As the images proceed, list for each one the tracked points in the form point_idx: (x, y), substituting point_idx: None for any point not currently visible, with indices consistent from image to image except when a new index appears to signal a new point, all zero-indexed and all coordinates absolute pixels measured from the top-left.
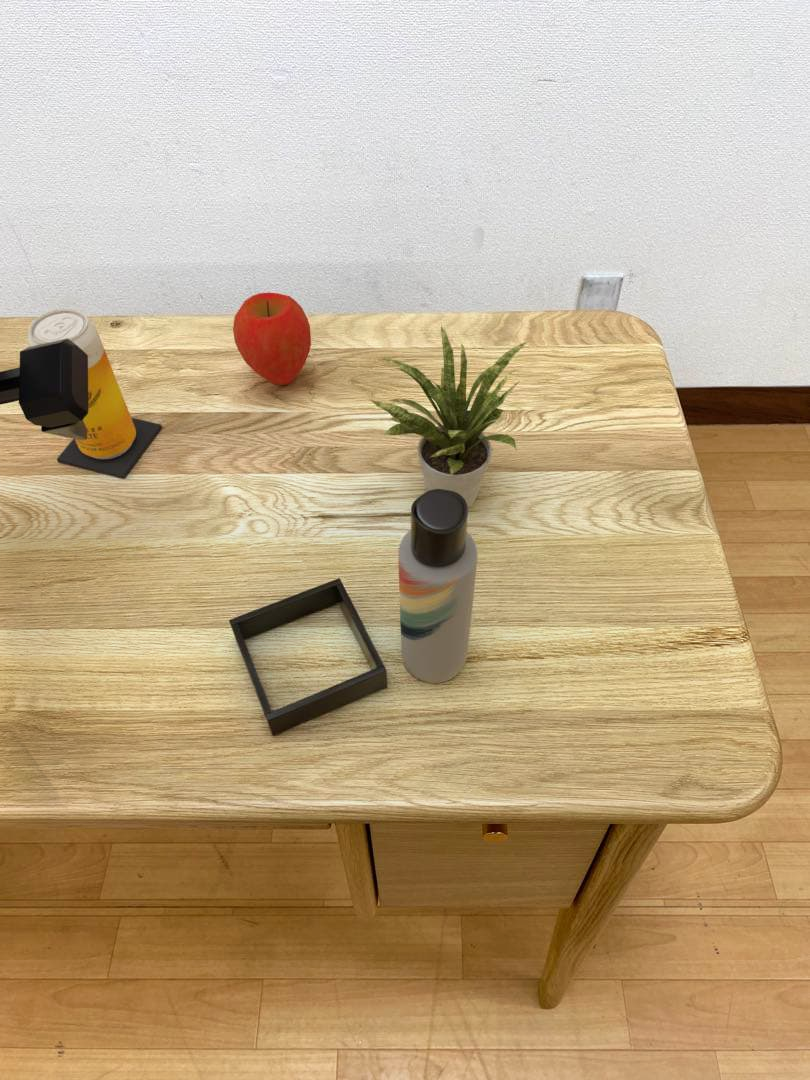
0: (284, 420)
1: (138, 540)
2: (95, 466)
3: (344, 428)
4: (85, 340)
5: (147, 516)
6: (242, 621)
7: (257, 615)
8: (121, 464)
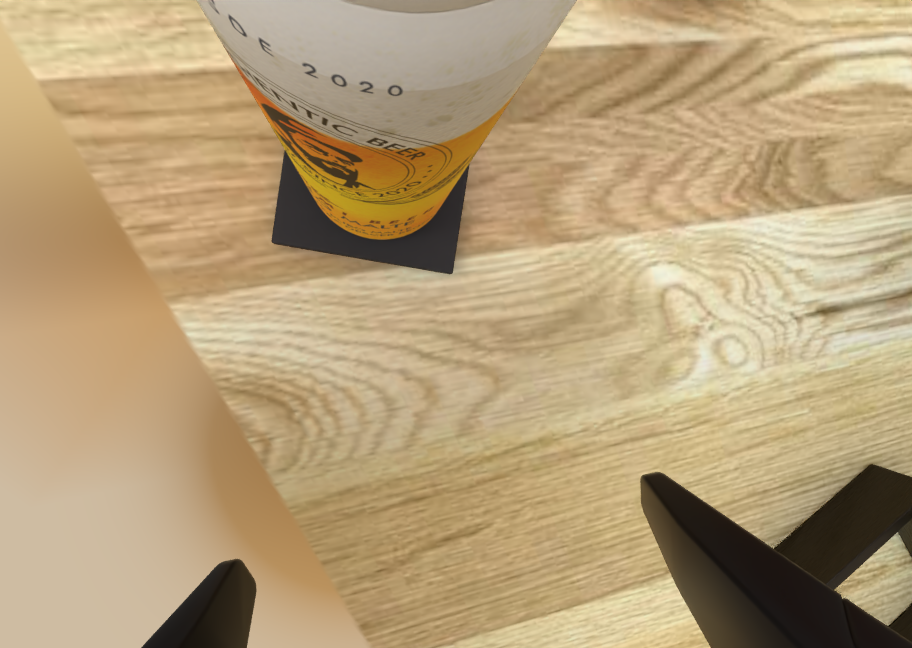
0: (718, 66)
1: (536, 424)
2: (378, 253)
3: (825, 83)
4: None
5: (533, 364)
6: None
7: (835, 588)
8: (436, 240)
